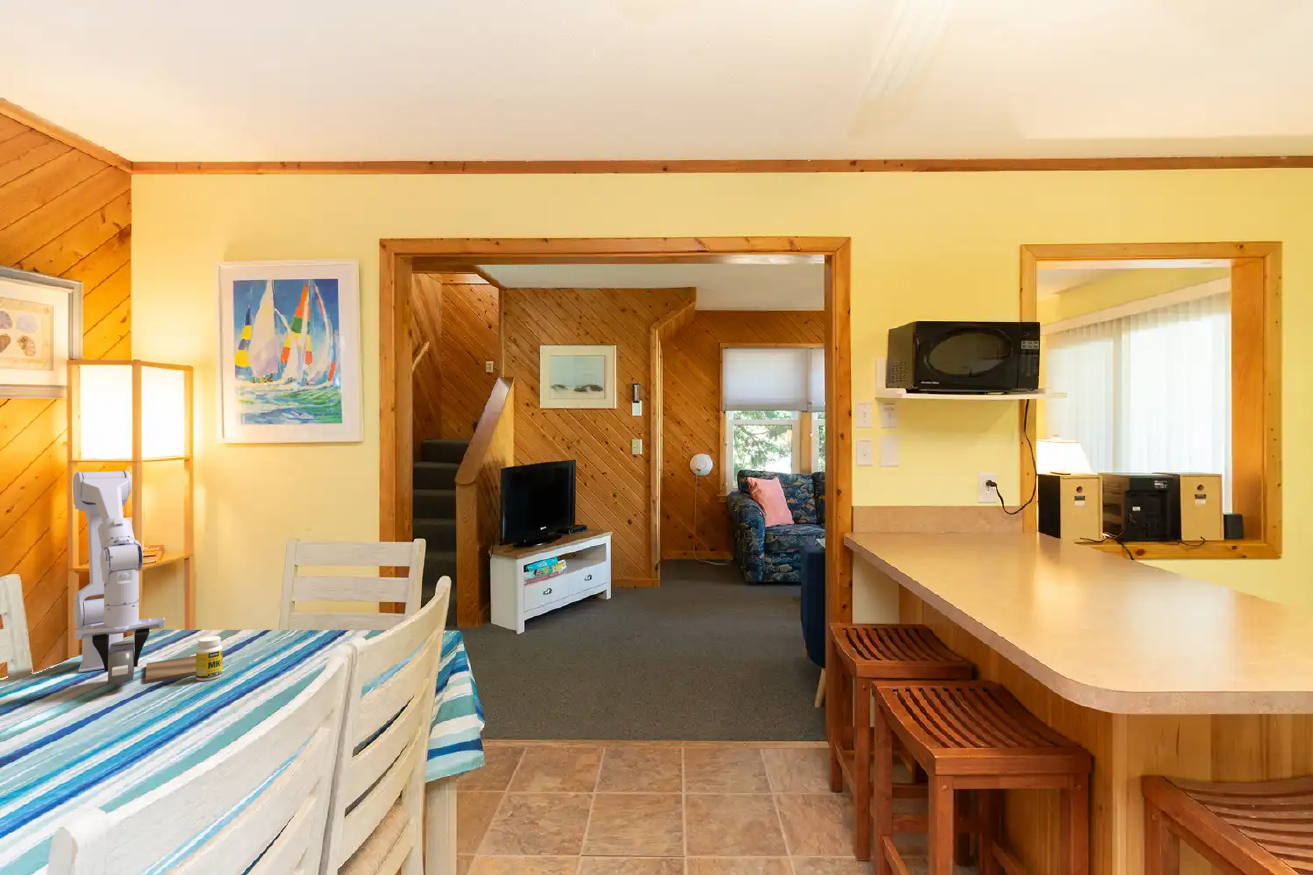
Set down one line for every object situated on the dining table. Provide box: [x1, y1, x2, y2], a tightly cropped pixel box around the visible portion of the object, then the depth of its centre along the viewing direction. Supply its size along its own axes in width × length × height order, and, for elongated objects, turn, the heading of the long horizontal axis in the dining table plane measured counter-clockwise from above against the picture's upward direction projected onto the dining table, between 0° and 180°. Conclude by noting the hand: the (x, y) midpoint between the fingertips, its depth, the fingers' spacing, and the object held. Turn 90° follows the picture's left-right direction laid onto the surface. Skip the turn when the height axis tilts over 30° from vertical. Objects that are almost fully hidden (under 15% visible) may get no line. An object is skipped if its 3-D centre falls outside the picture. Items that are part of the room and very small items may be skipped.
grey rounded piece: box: [107, 640, 135, 686], centre depth 139 cm, size 13×4×6 cm, turn 36°
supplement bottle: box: [195, 635, 223, 682], centre depth 144 cm, size 5×5×8 cm
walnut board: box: [144, 655, 196, 684], centre depth 150 cm, size 13×12×1 cm
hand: (121, 667), depth 140 cm, fingers closed on grey rounded piece, 4 cm apart
